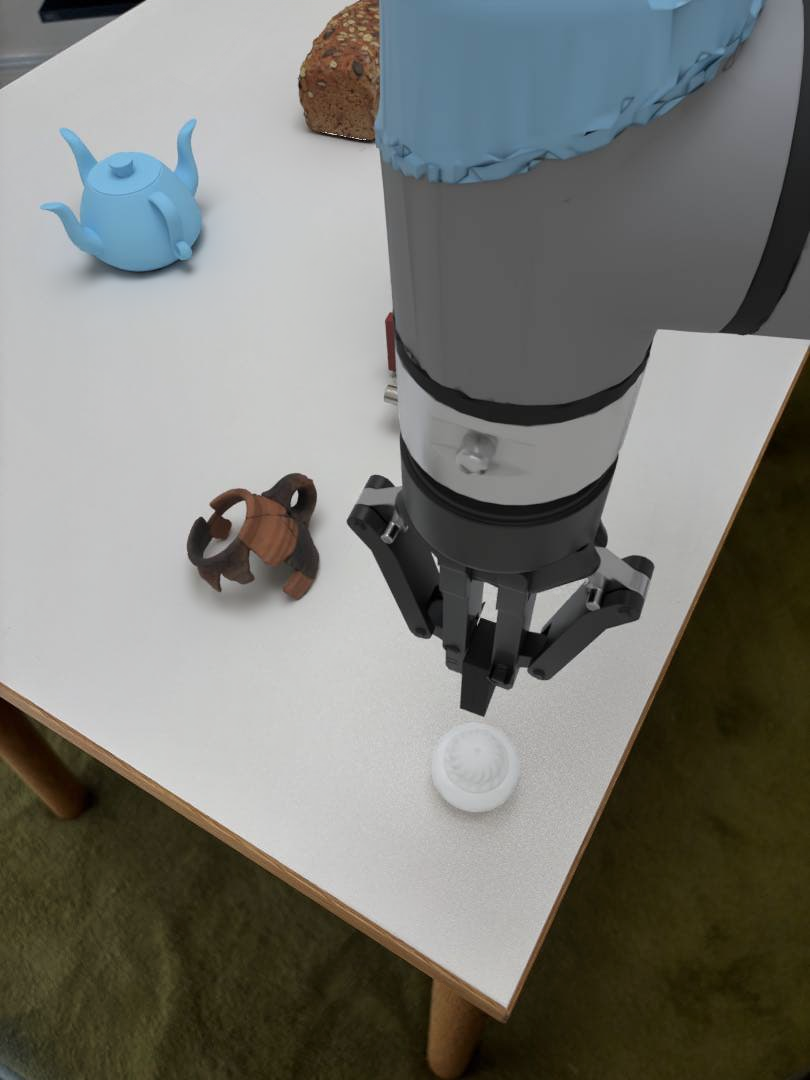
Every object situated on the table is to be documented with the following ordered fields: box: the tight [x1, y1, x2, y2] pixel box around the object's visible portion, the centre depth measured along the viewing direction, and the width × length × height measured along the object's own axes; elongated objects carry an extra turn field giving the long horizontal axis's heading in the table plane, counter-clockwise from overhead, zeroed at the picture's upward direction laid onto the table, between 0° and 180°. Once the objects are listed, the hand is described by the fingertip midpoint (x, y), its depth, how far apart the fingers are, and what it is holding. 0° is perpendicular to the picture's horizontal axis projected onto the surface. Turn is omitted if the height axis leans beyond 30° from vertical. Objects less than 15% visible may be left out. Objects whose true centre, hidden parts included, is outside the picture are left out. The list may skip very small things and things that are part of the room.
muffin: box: [429, 721, 522, 813], centre depth 56 cm, size 6×6×7 cm
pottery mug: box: [186, 472, 320, 601], centre depth 68 cm, size 12×9×8 cm
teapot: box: [39, 118, 203, 272], centre depth 89 cm, size 15×15×10 cm
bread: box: [296, 0, 380, 141], centre depth 103 cm, size 19×11×10 cm, turn 160°
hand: (479, 691), depth 48 cm, fingers closed
